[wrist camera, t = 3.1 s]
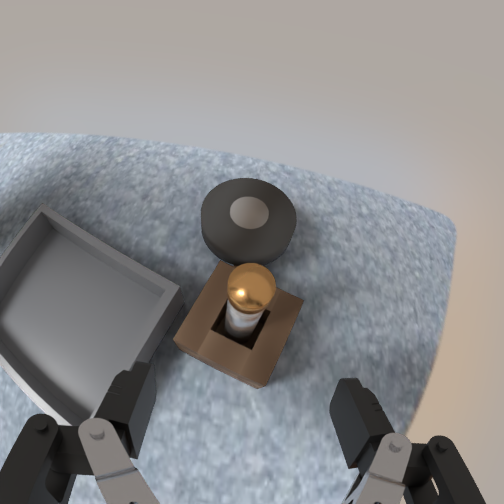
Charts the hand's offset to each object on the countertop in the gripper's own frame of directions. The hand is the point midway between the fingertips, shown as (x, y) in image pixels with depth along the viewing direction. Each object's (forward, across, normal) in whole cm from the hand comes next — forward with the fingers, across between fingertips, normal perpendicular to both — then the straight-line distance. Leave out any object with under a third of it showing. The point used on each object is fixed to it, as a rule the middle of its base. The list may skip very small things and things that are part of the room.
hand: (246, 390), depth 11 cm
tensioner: (+15, 0, +1) cm, 15 cm away
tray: (+11, +16, +5) cm, 20 cm away
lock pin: (+11, 0, +4) cm, 12 cm away
